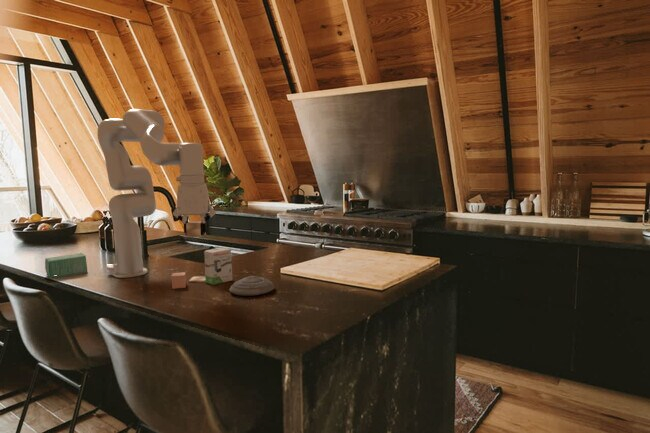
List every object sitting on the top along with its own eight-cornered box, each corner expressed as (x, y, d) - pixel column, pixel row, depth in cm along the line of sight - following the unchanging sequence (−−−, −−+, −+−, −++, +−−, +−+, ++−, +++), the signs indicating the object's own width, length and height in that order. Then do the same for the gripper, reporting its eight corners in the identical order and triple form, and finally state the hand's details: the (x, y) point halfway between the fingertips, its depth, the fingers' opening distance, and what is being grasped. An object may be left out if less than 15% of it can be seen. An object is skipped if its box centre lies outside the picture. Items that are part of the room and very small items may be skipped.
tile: (188, 282, 170) (188, 280, 170) (193, 278, 176) (193, 276, 176) (205, 281, 170) (205, 280, 170) (209, 277, 176) (209, 276, 176)
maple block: (186, 236, 155) (186, 223, 154) (190, 234, 160) (190, 221, 159) (200, 236, 155) (199, 223, 154) (203, 234, 159) (203, 221, 159)
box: (45, 276, 185) (44, 257, 184) (83, 270, 194) (81, 252, 193) (49, 279, 179) (48, 260, 178) (88, 273, 188) (86, 255, 187)
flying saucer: (235, 286, 164) (234, 271, 163) (277, 285, 163) (277, 270, 163) (224, 299, 149) (223, 282, 148) (271, 298, 148) (270, 281, 148)
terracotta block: (172, 288, 162) (171, 276, 161) (172, 285, 166) (172, 273, 166) (185, 287, 163) (185, 275, 163) (186, 284, 167) (185, 272, 167)
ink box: (212, 285, 165) (210, 252, 164) (205, 282, 168) (203, 250, 167) (233, 280, 171) (231, 248, 170) (225, 278, 175) (223, 247, 173)
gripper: (163, 181, 151) (166, 237, 154) (215, 180, 151) (217, 236, 153) (170, 180, 159) (174, 233, 161) (220, 179, 159) (223, 232, 161)
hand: (195, 234), depth 157 cm, fingers closed on maple block, 4 cm apart
